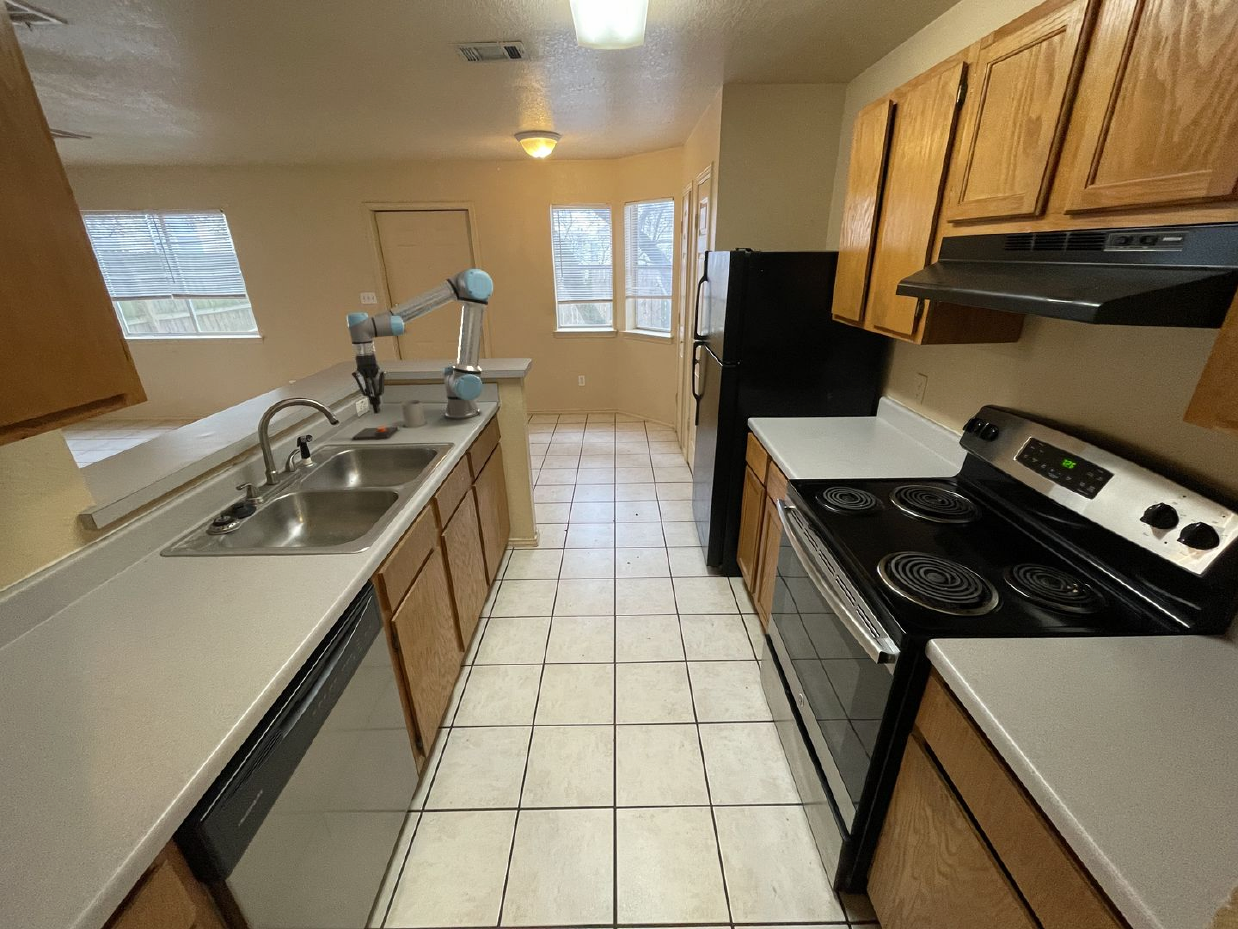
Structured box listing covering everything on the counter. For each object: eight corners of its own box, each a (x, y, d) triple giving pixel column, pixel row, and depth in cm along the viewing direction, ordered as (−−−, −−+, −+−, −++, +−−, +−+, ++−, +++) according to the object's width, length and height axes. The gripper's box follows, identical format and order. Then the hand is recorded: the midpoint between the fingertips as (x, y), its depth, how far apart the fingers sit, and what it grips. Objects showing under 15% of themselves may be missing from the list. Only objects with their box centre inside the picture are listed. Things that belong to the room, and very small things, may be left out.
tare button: (387, 430, 211) (386, 426, 210) (384, 432, 208) (383, 428, 207) (380, 430, 210) (379, 426, 210) (377, 432, 208) (376, 429, 207)
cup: (401, 426, 223) (396, 404, 219) (413, 421, 230) (409, 399, 227) (417, 427, 221) (412, 405, 217) (428, 422, 228) (425, 400, 224)
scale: (399, 429, 219) (397, 423, 218) (388, 439, 207) (386, 432, 206) (365, 431, 219) (364, 424, 218) (352, 440, 207) (350, 433, 206)
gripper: (343, 356, 193) (357, 415, 202) (378, 355, 194) (390, 414, 203) (352, 352, 200) (365, 410, 209) (385, 351, 201) (396, 409, 210)
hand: (377, 412), depth 206 cm, fingers closed
